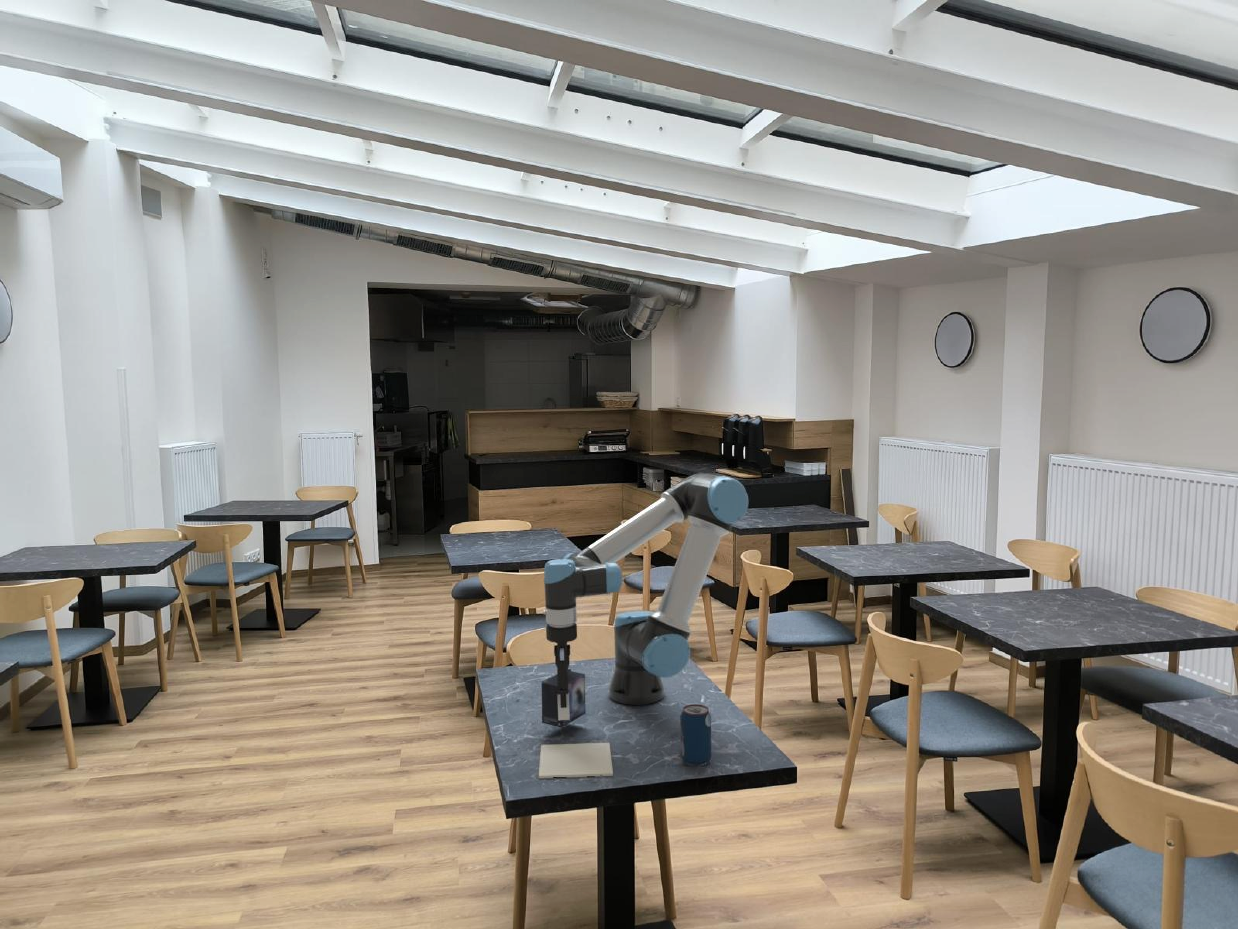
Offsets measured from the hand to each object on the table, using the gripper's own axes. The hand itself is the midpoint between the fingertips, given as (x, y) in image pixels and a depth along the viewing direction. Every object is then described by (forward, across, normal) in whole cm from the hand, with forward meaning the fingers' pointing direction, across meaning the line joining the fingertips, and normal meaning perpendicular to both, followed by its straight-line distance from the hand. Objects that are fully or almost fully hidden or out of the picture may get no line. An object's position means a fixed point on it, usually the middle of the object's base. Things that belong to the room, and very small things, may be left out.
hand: (564, 709), depth 206 cm
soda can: (+6, +20, +30) cm, 36 cm away
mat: (+5, +18, +2) cm, 19 cm away
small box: (+3, 0, 0) cm, 3 cm away
